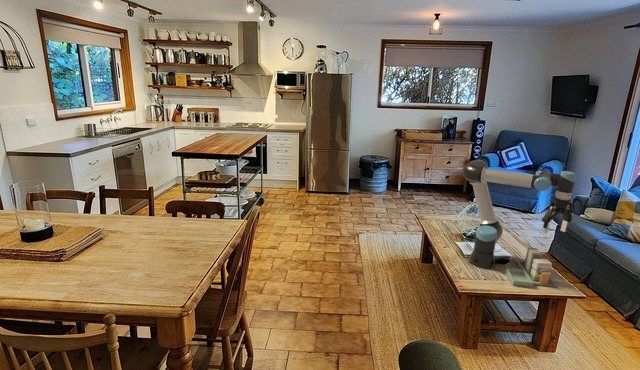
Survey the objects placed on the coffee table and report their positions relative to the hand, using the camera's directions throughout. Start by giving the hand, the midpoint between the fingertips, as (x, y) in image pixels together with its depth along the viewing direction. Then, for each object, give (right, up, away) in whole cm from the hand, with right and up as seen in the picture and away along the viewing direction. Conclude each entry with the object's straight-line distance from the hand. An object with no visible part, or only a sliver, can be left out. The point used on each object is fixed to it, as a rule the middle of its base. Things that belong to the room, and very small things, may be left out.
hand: (553, 232), depth 214 cm
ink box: (-9, -28, 0) cm, 29 cm away
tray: (-22, -28, -2) cm, 35 cm away
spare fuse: (-7, -24, +11) cm, 28 cm away
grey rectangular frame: (-8, -26, +5) cm, 28 cm away
